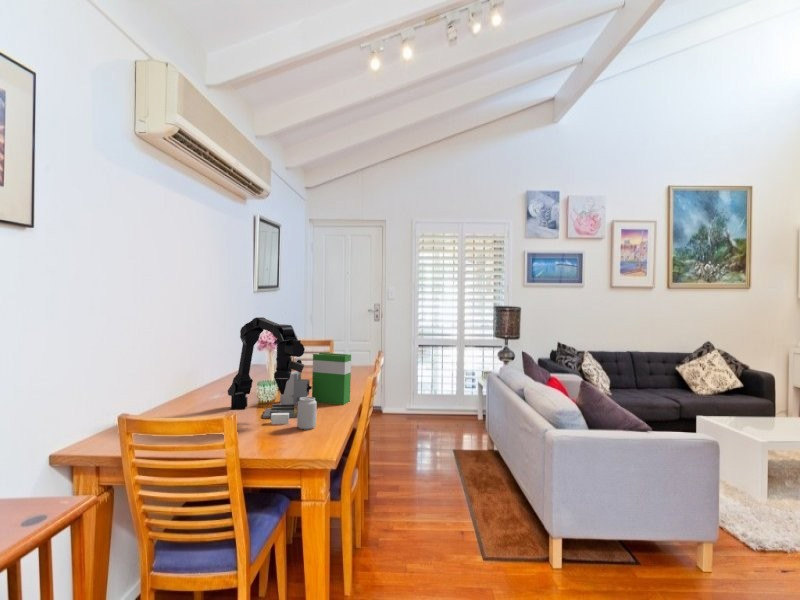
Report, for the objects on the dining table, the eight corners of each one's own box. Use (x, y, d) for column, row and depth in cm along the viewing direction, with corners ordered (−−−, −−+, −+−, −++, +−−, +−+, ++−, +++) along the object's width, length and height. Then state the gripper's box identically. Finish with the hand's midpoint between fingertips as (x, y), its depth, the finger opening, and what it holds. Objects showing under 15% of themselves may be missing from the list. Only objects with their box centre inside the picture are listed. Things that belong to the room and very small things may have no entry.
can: (299, 431, 176) (300, 400, 176) (294, 426, 183) (295, 396, 183) (318, 429, 180) (319, 399, 180) (312, 424, 186) (313, 395, 186)
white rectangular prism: (270, 424, 185) (271, 415, 185) (271, 422, 188) (271, 413, 188) (288, 424, 186) (288, 414, 186) (288, 422, 189) (289, 412, 189)
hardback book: (311, 401, 227) (313, 354, 227) (318, 398, 234) (320, 352, 234) (343, 404, 221) (345, 356, 221) (349, 401, 229) (351, 354, 228)
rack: (262, 418, 193) (262, 411, 193) (265, 410, 206) (266, 404, 206) (300, 417, 196) (300, 410, 196) (301, 410, 209) (301, 403, 209)
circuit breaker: (309, 405, 219) (309, 374, 219) (279, 404, 219) (280, 373, 219) (312, 401, 226) (313, 372, 226) (284, 400, 227) (285, 371, 227)
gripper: (302, 357, 181) (302, 396, 181) (303, 352, 199) (303, 387, 199) (274, 357, 179) (273, 397, 179) (277, 352, 197) (277, 388, 197)
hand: (283, 392), depth 189 cm, fingers open, 9 cm apart
